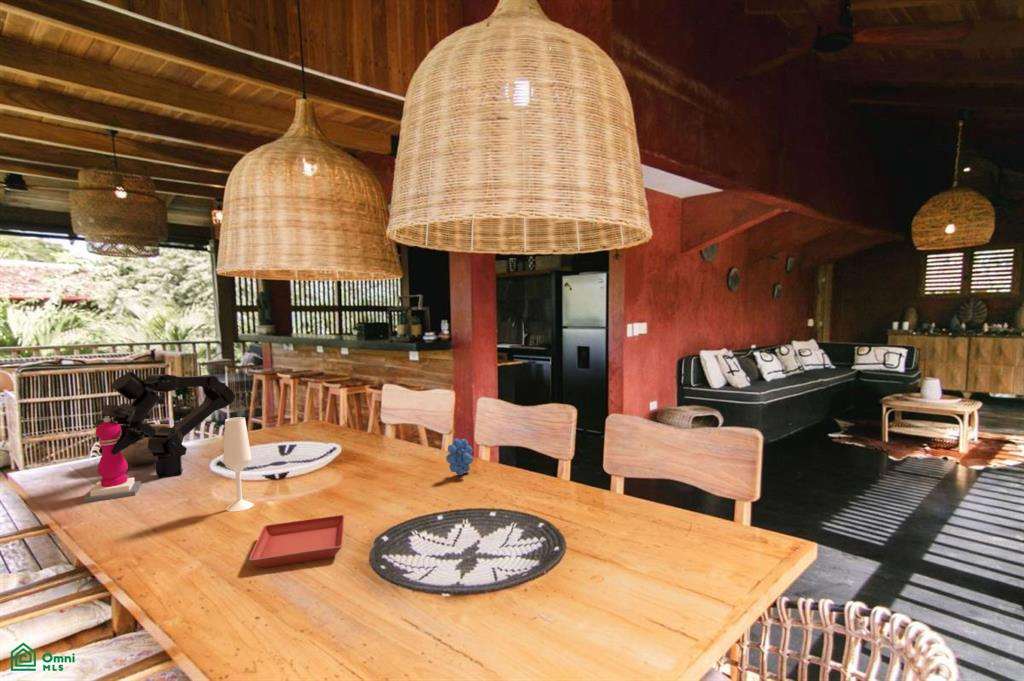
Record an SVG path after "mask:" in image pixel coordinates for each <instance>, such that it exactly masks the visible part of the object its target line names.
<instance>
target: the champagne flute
mask: <svg viewBox="0 0 1024 681" xmlns="http://www.w3.org/2000/svg"><path fill="white" fill-rule="evenodd" d="M223 436H224V438H223V456H222V457H223V458H222V459H223V460H222V461H223V462H222V463H223V464H224V466H226V468H228V469H229V470H231V471H232V472H234V473H235V487H236V500H235V501H234V502H232V503H231V504H230V505H229V506H227V507H226V508H225V510H226V511H227V512H232V513H233V512H240V511H241V512H242V511H245V510H248V509H251V508H253V507H254V503H253V502H250V501H247V500H245V499H243V494H242V492H243V490H242V477H241V476H242V475H241V472H242V471H243V470H244V469H245V468H246V467H247V466H248V465H249V464H250V461H251V460H252V453H251V447H250V441H249V435H248V428H247V422H246V417H241V416H240V417H238V416H237V417H231V418H226V419H225V420H224V435H223Z"/></svg>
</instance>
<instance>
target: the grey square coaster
mask: <svg viewBox="0 0 1024 681" xmlns="http://www.w3.org/2000/svg"><path fill="white" fill-rule="evenodd" d="M141 485H142V480H137V481H136V480H135V477H127V481H126V482H125V483H122V484H120V485H116V486H110V487H103V486H101V481H98V482H97V483H96V484H95V485H94V486H93V487H92V488H91V489H90V490H89V491H88V492H87V493H86V494H85V496H84V497H82V502H83V504H86V503H93V502H100V501H106V500H113V499H120V498H126V497H133V496H134V497H135V496H136V495H137V493H138V491H139V490H140V488H141Z"/></svg>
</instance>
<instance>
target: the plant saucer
mask: <svg viewBox="0 0 1024 681" xmlns="http://www.w3.org/2000/svg"><path fill="white" fill-rule="evenodd" d="M345 518H346V517H345V515H343V514H341V515H340V514H339V515H338V514H337V515H331V516H324V517H316V518H315V517H314V518H308V519H303V520H302V519H301V520H296V521H295V520H294V521H288V522H280V523H272V524H271V523H270V524H266V525H264V526H263V527H262V529H261V531H260V534H259V536H258V538H257V540H256V543H255V545H254V546H253V549H252V551H251V554H250V556H249V558H248V560H249V561H250V563H252V564H254V565H255V566H257V567H258V568H270V567H276V566H277V567H278V566H284V565H289V564H296V563H302V562H303V563H304V562H311V561H316V560H323V559H331V558H334V557H335V556H336V555H337V554H338V553H339V551H340V550H341V548H342V547H343V544H344V543H343V541H344V530H345Z"/></svg>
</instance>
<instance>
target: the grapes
mask: <svg viewBox="0 0 1024 681" xmlns="http://www.w3.org/2000/svg"><path fill="white" fill-rule="evenodd" d="M447 452H448V454H447V455H446V457H445V459H446V462H447V463H448V464H449V470H450V472H452V473H456V475H457V476H462V475H464V473H468V472H469V471H470V469H471V466H470V464H472V463H473V462H474V457H473V455H471V454H472V453H473V447H472V446H471V445H469V442H468V440H467V439H466V438H461V439H459V438H457V437H456V438H454V439H453V441H452V443H451V444H449V445H448V446H447Z"/></svg>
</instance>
